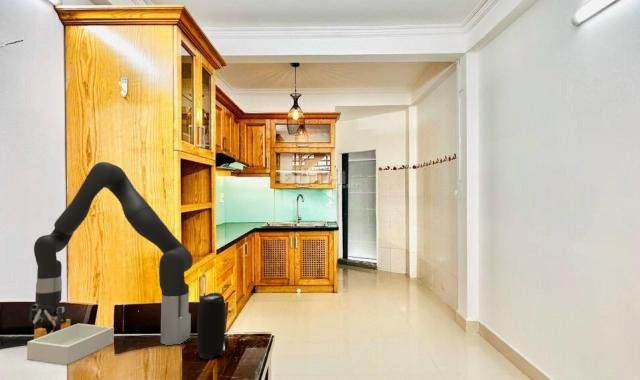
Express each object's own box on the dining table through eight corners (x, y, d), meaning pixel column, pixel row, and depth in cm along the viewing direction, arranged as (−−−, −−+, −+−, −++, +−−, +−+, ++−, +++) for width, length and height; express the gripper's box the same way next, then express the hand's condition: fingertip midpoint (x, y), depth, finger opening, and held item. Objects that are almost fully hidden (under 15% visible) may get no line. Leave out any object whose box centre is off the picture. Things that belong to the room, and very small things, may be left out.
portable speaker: (192, 360, 114) (193, 299, 114) (203, 348, 123) (204, 291, 124) (219, 361, 113) (220, 299, 114) (227, 349, 123) (228, 292, 123)
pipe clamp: (60, 335, 135) (60, 318, 135) (70, 336, 134) (70, 319, 134) (29, 348, 123) (29, 329, 123) (40, 349, 122) (40, 330, 122)
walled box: (113, 342, 128) (113, 327, 128) (66, 365, 110) (67, 347, 110) (77, 338, 132) (78, 323, 132) (26, 359, 114) (27, 341, 114)
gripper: (74, 288, 131) (72, 333, 131) (43, 285, 135) (42, 329, 134) (54, 293, 124) (52, 340, 123) (23, 290, 127) (21, 336, 127)
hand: (47, 334), depth 129 cm, fingers open, 8 cm apart
